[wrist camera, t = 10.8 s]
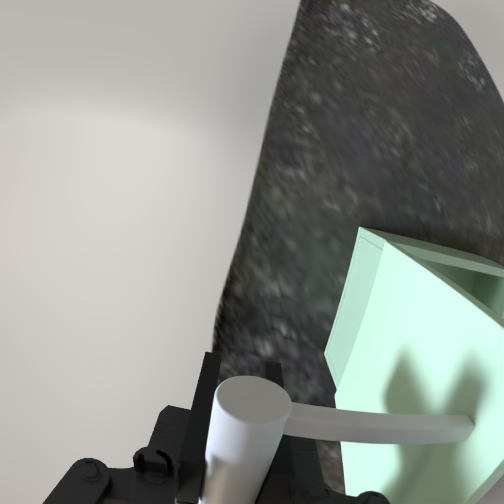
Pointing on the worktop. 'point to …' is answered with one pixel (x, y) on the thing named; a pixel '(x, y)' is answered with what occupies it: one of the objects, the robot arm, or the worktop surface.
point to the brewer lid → (384, 400)
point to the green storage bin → (364, 273)
